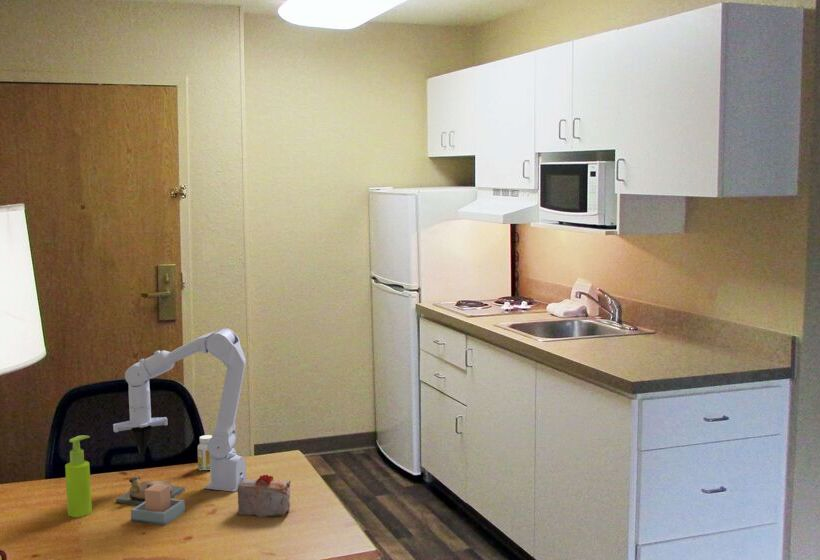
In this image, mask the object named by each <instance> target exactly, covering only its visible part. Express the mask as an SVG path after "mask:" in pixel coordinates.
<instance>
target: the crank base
mask: <svg viewBox="0 0 820 560" xmlns="http://www.w3.org/2000/svg"><path fill="white" fill-rule="evenodd" d="M183 491H184V492H185V491H186V487H185V486H177V485H172V491H171V492H170V499H172V498H173V499H174V498H176V497H177V496H178V495H180V494H182V493H183ZM175 496H176V497H175ZM116 502H119V503H118V504H125V503H127V504H126V505H136V506H138V505H140V504H141V503H143V502H145V499H137V498H133V497H131V496H130V490H129V491H127V492H126V493H123V494H122V495H120V496H118V497H116V498H115V503H116Z"/></svg>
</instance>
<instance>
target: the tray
mask: <svg viewBox="0 0 820 560" xmlns="http://www.w3.org/2000/svg"><path fill="white" fill-rule="evenodd" d="M170 501H171V508H169V509H168V510H166V511H164V512H155V511H147V510H145V502H143V503H141V504H140V505H136V506H135V507H133V508H131V509H130V519H131V520H130V521H131V522H134V523H141V524H150V525H157V526H166V525H168V524H169V523H171V522H172V521H174V520H176V518H178V517H180V516H181V515H183V514H184V513H186V504H185V503H186V502H185V501H186V500H183V499H174V498H173V499H170Z"/></svg>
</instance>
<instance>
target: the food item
mask: <svg viewBox="0 0 820 560" xmlns="http://www.w3.org/2000/svg"><path fill="white" fill-rule="evenodd" d="M291 486H292V482H291V479H290V480H284V479H283V480H281V479H280V480H279V479H274V476H272V475H268V474H263V475H262V474H261V475H260V476H259V478H258V479H257V478H254V479H252V478H251V479H250V478H246V479H244V480H242V481H241V482H240V483H239V485H238V490H237V504H238V505H237V506H238V509H237V510H238V511H237V513H238V515H239V516H257V517H258V518H264V517H268V516H271V517H272V516H274V517H276V516H277V517H279V516H280V517H281V516H284V515H286V513H288V511H290V510H291V503H292V502H291Z"/></svg>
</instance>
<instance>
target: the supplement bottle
mask: <svg viewBox="0 0 820 560" xmlns="http://www.w3.org/2000/svg"><path fill="white" fill-rule="evenodd" d="M212 436H213V434H206V435H205V434H204V435H201V436H199V444H198V445H197V465H198V466H197V467H198V470H199V471H201V470H210V453H209V452H208V449H207V445H208V442H209V440H210V439H211V438H212Z"/></svg>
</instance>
